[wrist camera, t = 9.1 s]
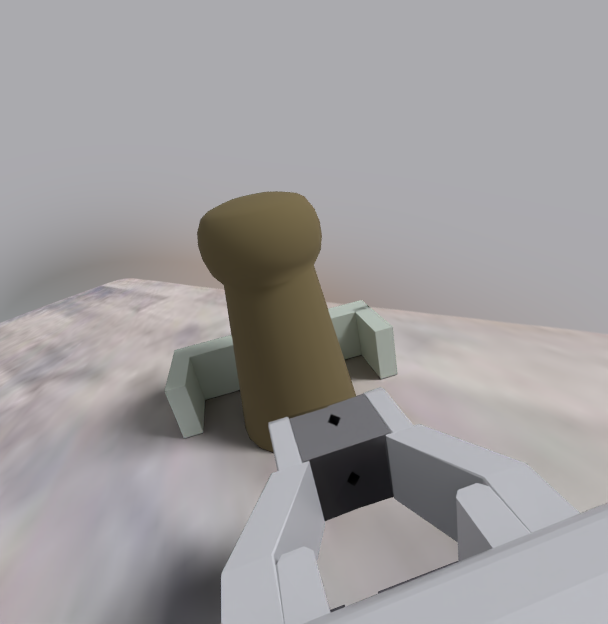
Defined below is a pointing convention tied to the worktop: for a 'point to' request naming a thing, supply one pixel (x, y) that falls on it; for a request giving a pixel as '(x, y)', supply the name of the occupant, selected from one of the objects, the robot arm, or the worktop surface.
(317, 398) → the cork
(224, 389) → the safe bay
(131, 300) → the worktop surface
